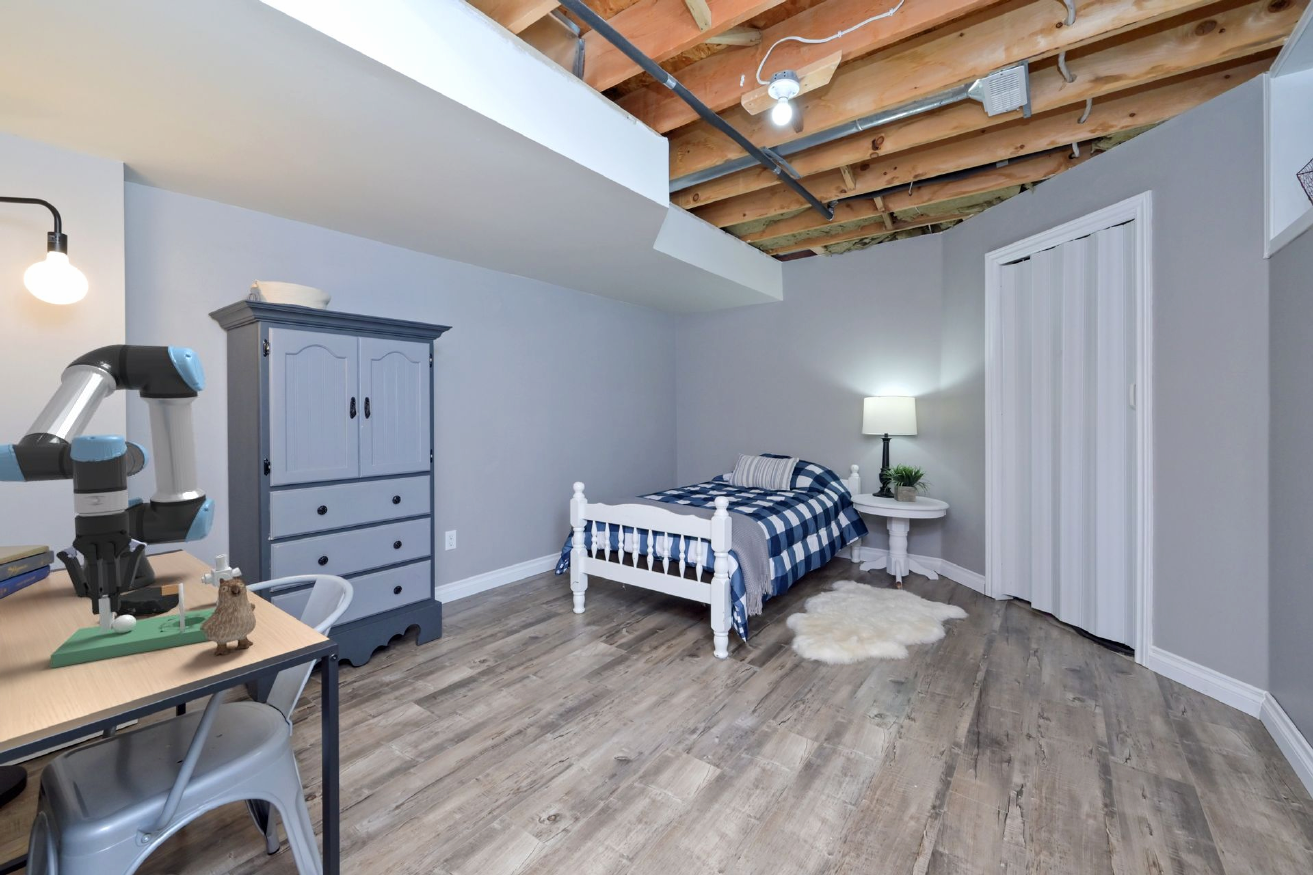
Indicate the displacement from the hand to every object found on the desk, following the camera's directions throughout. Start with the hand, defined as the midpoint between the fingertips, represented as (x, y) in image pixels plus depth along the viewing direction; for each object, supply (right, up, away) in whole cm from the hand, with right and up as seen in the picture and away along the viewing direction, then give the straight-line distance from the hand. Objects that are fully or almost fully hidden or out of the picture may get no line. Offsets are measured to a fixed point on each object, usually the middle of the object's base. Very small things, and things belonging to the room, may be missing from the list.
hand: (107, 628), depth 109 cm
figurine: (+26, -4, -1) cm, 26 cm away
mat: (+5, -4, +4) cm, 7 cm away
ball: (+2, 0, +1) cm, 3 cm away
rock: (-9, -3, +18) cm, 21 cm away
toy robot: (+3, -3, +25) cm, 25 cm away
